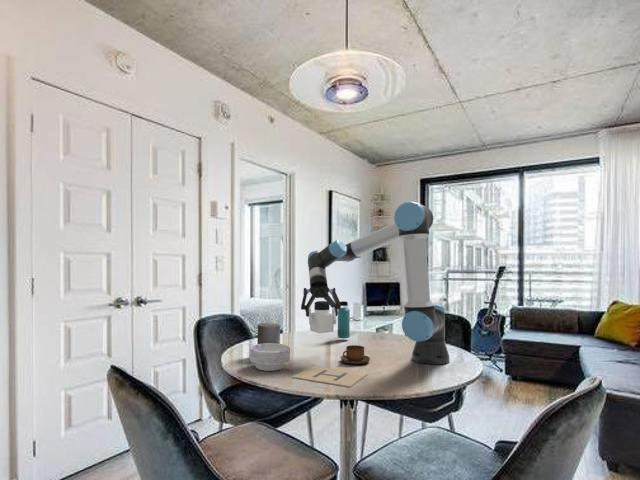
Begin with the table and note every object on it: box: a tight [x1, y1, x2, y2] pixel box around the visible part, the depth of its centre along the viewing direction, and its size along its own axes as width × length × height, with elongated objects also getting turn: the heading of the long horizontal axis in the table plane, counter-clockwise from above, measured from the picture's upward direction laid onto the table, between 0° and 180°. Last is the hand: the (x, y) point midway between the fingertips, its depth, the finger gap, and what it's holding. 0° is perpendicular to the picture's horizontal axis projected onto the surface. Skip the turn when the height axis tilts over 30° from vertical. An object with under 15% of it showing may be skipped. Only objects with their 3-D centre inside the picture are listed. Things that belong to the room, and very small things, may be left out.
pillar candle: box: [256, 322, 281, 345], centre depth 168 cm, size 10×10×15 cm
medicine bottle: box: [309, 300, 335, 334], centre depth 159 cm, size 7×7×12 cm
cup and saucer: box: [340, 344, 371, 365], centre depth 160 cm, size 12×12×6 cm
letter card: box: [291, 365, 368, 388], centre depth 140 cm, size 22×16×1 cm
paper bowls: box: [249, 343, 291, 372], centre depth 151 cm, size 15×15×8 cm
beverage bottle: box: [336, 300, 351, 339], centre depth 204 cm, size 6×7×20 cm
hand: (322, 322), depth 156 cm, fingers closed on medicine bottle, 9 cm apart
